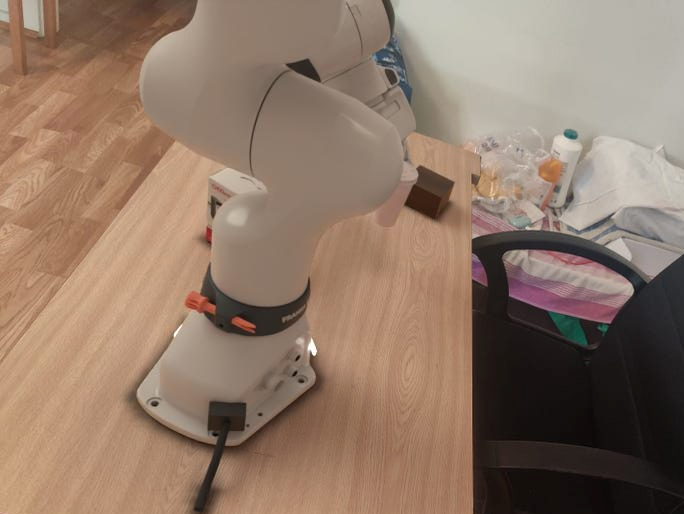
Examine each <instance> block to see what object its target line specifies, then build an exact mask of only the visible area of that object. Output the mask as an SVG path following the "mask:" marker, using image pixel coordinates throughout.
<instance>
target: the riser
mask: <svg viewBox="0 0 684 514" xmlns="http://www.w3.org/2000/svg"><path fill="white" fill-rule="evenodd" d="M415 169H416V170H417V172H418V178H417V182H416V183H415V184H414V185H413V186H412V188H411V191H410V193H409V195H408V197H407V199H406V201H405V204H404V205H406V206H407V207H409V208H412V209H413V210H416V211H418V212H419V213H422V214H424V215H426V216H427V217H430V218H432V219H434V220H435V219H436V218H437V217H438V216H439V214H440V213H441V212H442V210H444V208H445V207H446V206H447V205H448V203H449V200H450V198H451V195H452V192H453V189H454V187H455V183H456V182H455V181H454V180H452V179H450V178H448V177H445V176H444V175H442V174H439V173H437V172H435V170H431V169H430V168H428V167H426V166H423V165H422V164H419V165H418V166H417V167H415Z"/></svg>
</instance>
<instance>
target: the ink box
mask: <svg viewBox="0 0 684 514" xmlns="http://www.w3.org/2000/svg"><path fill="white" fill-rule="evenodd" d="M207 182H208V183H207V203H206V207H207V208H206V229H205V240H206V241H207V242H209V243H210V244H212V223H213V219H214V217H215V215H216V213H217V211H218V209H219V208H220V207H221V206H222V204H223V203H225V202H226V201H227V200H229V199H230V198H232V197H234V196H236V195H239V194H242V193H245V192H249V191H255V190H267V188H266V186H265V185H264V184H263V183H262V182H260V181H258V180H257V179H255V178H253V177H250V176H248V175H246V174H243V173H241V172H238V171H236V170H234V169H231V168H229V167H227V166H225V167H224V168H222V169H220V170H218V171H215V172H213V173H212V174H210V175H208V180H207Z"/></svg>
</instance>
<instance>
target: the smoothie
mask: <svg viewBox="0 0 684 514" xmlns="http://www.w3.org/2000/svg"><path fill="white" fill-rule="evenodd" d="M407 145H409V141H408V140H406V141H405V142H404V145H403V154H404V156H405V152H406V148H407ZM417 178H418V172H417V170H416V167H415V166H414V167H413V166H412V165H411V164H409V163H408V162H406V161H404V164H403V172H402V175H401V179H400V182H399V184H398V186H397V188H396V190H395V192H394V193H393V194H392V196H391V197H390V198H389V199H388V201H387V202H386V203H384V204H383V205H382V206H381V207H379V208H378V209H376V210H375V211H373V217H372V218H373V221H374V223H376V225H379V226H381V227H383V228H392V227H395V225H396V223H397V220H398V218H399V216H400V214H401V212H402V210H403V208H404V207H405V205H406V204H405V201H406V199H407V197H408V195H409V193H410V191H411V188H412V186H413V185H414V184H415V183H416V182H417Z"/></svg>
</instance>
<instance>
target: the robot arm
mask: <svg viewBox="0 0 684 514" xmlns="http://www.w3.org/2000/svg"><path fill="white" fill-rule="evenodd" d="M395 22H396V15H395V9H394V6H393V3H392V1H391V0H197V1H196V8H195V11H194V14H193V17H192V18H191V20H190V22H189V23H188V24H187V25H186V26H185V27H183V28H181V29H179V30H178V29H177V30H175V31H171V32H170V33H167V34H166V35H164V36H162V37H161V38H160V39H159V40H157V41H156V42H155V43H154V44H153V45H152V46H151V47H150V49H149V51H148V52H147V53H146V55H145V56H144V59H143V61H142V64H141V67H140V72H139V76H138V77H139V79H138V88H139V97H140V102H141V105H142V108H143V111H144V113H145V115H146V117H147V119H148V121H149V122H150V124H151V125H153V126H154V128H156V129H158V130H159V131H161V132H162V133H163V134H165V135H167V136H168V137H169V138H171V139H173V141H175V142H177V143H179V144H180V145H182V146H184V148H186V149H188V150H190V151H191V152H193V153H194V154H196V155H199V156H200V157H203V158H206V159H207V160H210V161H212V162H214V163H217V164H220V165H222V166H224V167H229V168H231V169H234V170H236V171H238V172H241V173H243V174H246V175H248V176H250V177H252V178H254V179H256V180H257V181H259V182H260V183H262V184H264V185H265V186H266V188H267V190H255V191H249V192H245V193H242V194H239V195H236V196H234V197H232V198H230V199H229V200H227V201H226V202H225V203H223V204H222V206H221V207H220V208H219V209H218V211H217V213H216V215H215V217H214V219H213V223H212V243H211V245H210V247H211V248H210V249H211V250H210V262H209V263H208V265H207V268H206V271H205V273H204V276H203V278H202V282H201V283H202V285H201V288H200V292H197V291H195V290H193V291H191V292H189V294H188V295H187V296H186V298H185V299H184V307H186V308H188V309H190V311H189V313H188V314H187V315H186V317H185V319H184V321H183V322H182V324H181V325H180V326H179V327H178V329H177V330H176V331H175V332H174V334H173V338H172V340H171V341H170V343H169V345H168V346H167V348H166V350H165V351H164V352H163V354H162V355H161V357H159V359H158V360H157V362H156V363H155V364H154V366H153V367H152V369H151V370H150V371H149V373H148V374H147V376H146V377H145V379H144V380H143V381H142V382H141V383H140V385H139V386H138V388H137V390H136V400H137V402H138V404H140V406H141V408H142V409H143V410H144V411H145V412H146V413H147V414H148V415H149V416H150V417H151V418H153V419H154V420H155V421H157V422H158V423H160V424H161V425H163V426H165V427H167V428H168V429H170V430H172V431H174V432H175V433H178V434H180V435H183V436H185V437H187V438H189V439H191V440H195V441H198V442H202V443H204V444H207V445H208V444H209V445H214V450H213V453H212V457H211V459H210V462H209V465H208V468H207V470H206V473H205V476H204V479H203V481H202V483H201V487H200V489H199V492H198V495H197V498H196V500H195V504H194V506H193V510H194V512H199V513H201V512H203V511H204V510H205V505H206V503H207V499H208V496H209V494H210V491H211V487H212V484H213V481H214V479H215V476H216V475H217V472H218V470H219V469H218V468H219V466H220V464H221V463H220V462H221V460H222V457H223V454H224V450H225V447H236V446H240V445H241V444H243V443H244V442H245V441H246V440H248V439H249V438H250V437H252V436H253V435H254V434H255V433H256V432H257V431H259V430H260V429H261V428H262V427H264V426H265V425H266V424H267V423H268V422H270V421H271V420H273V418H275V417H276V416H277V415H279V414H280V413H281V412H282V411H283V410H285V409H286V408H287V407H288V406H289V405H291V404H292V403H293V402H295V401H296V400H297V399H298V398H299V397H301V396H302V395H303V394H305V392H306V391H308V390H309V389H311V388H312V387H313V386H314V385H315V383H316V378H317V377H316V373H315V371H314V369H313V367H312V365H311V364H310V360H311V354H312V355H313V356H316V354H317V348H316V345H315V343H314V341H313V339H312V338H313V333H312V329H311V326H310V323H309V321H308V316H307V314H306V311H307V308H308V305H309V301H310V298H311V292H312V291H311V290H312V289H311V283H312V282H311V277H310V273H311V269H312V263H313V260H314V256H315V254H316V253H315V252H316V250H317V246H318V245H319V243H320V241H321V239H322V237H323V236H324V234H325V233H326V232H327V231H328V230H329V229H330V228H332V227H333V226H335V225H336V224H338V223H340V222H342V221H344V220H348V219H351V218H356V217H362V216H366V215H369V214H371V213H374V211H375V210H376V209H378V208H379V207H381V206H382V205H383V204H384V203H386V202H387V201H388V199H389V198H390V197H391V196H392V194H393V193H394V192H395V190H396V188H397V186H398V184H399V182H400V179H401V175H402V172H403V164H404V161H406V162H408V163H409V164H411V165H412V166H413V167H414V168H415V165H414V163H413V161H412V158H411V153H410V146H409V144H408V145H407V148H406V152H405V156H404V154H403V145H404V142H405V141H407V138H408V137H409V136H410V135H411V134H413V132H415V131H416V130H417V122H416V118H415V115H414V113H413V110H412V108H411V106H410V103H409V101H408V99H407V97H406V94H405V92H404V90H403V89H402V88H401V86H400V85H398V84H399V83H400V76H399V75H398V72H397V71H396V69H395V68H393V67H387V66H382V65H380V64H377V63H376V60H375V58H374V56H373V55H374V54H377V53H378V52H379V51H381V50H382V49H383V48H384V47H386V46H387V44H389V43H390V42H391V40H392V37H393V34H394V32H395V31H394V30H395V24H396V23H395ZM155 405H156V406H155ZM215 435H217V436H215Z"/></svg>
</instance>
